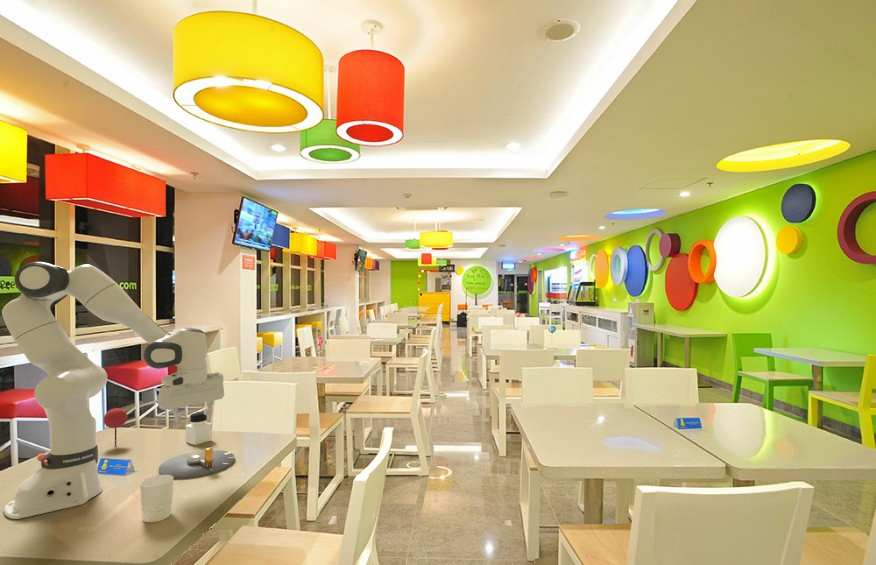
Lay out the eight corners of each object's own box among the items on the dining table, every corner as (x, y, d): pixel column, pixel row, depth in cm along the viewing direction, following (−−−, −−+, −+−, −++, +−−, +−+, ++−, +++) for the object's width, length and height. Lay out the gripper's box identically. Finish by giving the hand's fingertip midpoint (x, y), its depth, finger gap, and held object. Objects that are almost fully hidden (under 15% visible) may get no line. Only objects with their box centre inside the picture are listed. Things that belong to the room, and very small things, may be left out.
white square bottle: (211, 440, 194) (211, 411, 194) (195, 445, 188) (195, 415, 188) (201, 437, 197) (201, 409, 198) (185, 442, 191) (185, 413, 192)
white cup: (149, 526, 123) (149, 488, 123) (134, 519, 127) (134, 482, 128) (179, 514, 130) (179, 478, 130) (164, 507, 134) (164, 472, 134)
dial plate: (174, 485, 149) (174, 480, 150) (148, 466, 165) (148, 462, 165) (246, 463, 168) (246, 459, 168) (217, 448, 183) (217, 445, 183)
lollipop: (131, 443, 190) (131, 406, 191) (114, 449, 183) (114, 411, 183) (116, 442, 192) (116, 405, 192) (98, 448, 185) (99, 410, 185)
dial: (183, 461, 166) (183, 443, 166) (203, 456, 171) (203, 438, 171) (199, 471, 157) (199, 452, 157) (220, 465, 162) (220, 446, 162)
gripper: (219, 370, 167) (219, 409, 167) (155, 379, 151) (156, 422, 151) (227, 372, 163) (227, 412, 163) (163, 382, 147) (163, 426, 147)
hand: (192, 417), depth 157 cm, fingers open, 8 cm apart
